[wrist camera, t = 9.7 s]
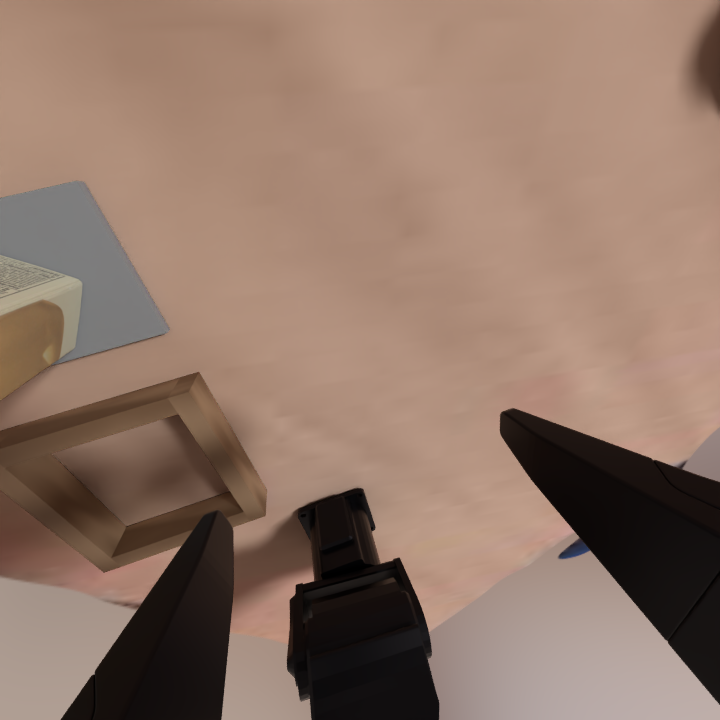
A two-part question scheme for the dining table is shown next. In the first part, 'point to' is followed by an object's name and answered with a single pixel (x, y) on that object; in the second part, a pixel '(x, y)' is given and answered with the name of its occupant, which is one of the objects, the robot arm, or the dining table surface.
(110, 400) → the walnut stand
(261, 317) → the dining table surface
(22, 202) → the grey mat
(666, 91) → the dining table surface
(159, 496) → the dining table surface
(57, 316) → the skincare box
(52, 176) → the dining table surface
